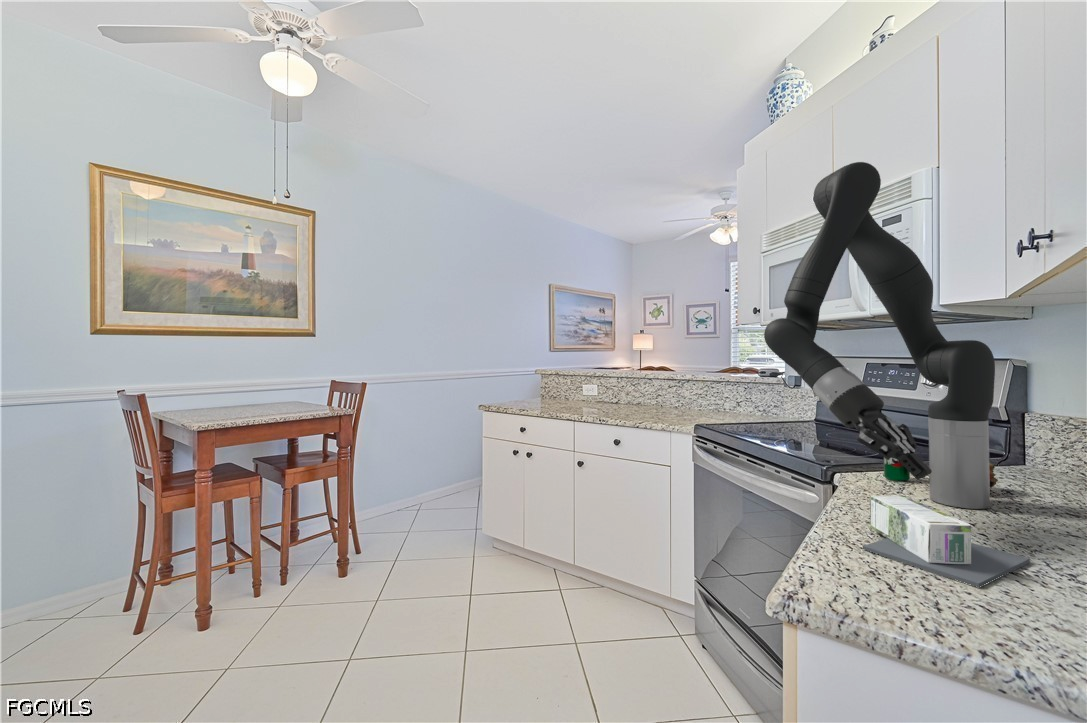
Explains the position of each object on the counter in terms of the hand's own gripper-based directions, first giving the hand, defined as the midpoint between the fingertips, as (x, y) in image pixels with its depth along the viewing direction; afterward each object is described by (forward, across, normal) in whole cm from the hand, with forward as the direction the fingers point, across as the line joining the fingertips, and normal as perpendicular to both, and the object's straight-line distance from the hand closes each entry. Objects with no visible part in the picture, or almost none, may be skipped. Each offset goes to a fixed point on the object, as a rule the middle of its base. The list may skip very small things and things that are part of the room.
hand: (925, 475), depth 76 cm
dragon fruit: (+1, +42, +15) cm, 45 cm away
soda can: (-9, +39, +24) cm, 46 cm away
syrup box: (+1, -1, +9) cm, 9 cm away
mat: (+10, -5, +4) cm, 12 cm away
